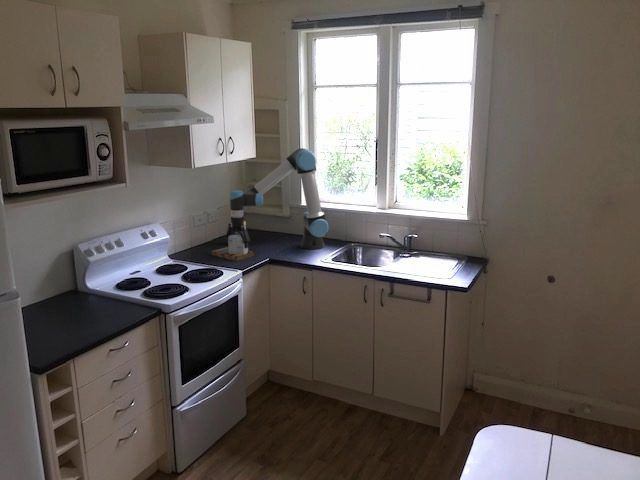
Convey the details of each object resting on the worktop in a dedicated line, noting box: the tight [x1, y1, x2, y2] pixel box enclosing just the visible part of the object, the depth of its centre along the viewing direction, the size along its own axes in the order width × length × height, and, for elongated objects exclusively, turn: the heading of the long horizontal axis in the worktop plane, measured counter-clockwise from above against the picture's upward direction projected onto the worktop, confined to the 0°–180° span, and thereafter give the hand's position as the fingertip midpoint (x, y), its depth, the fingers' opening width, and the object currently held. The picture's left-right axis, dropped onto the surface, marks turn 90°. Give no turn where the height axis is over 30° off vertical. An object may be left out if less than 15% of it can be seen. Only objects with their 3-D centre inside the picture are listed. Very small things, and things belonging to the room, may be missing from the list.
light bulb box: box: [227, 235, 249, 254], centre depth 336 cm, size 11×7×11 cm, turn 84°
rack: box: [210, 245, 256, 262], centre depth 341 cm, size 23×16×2 cm
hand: (238, 251), depth 337 cm, fingers closed on light bulb box, 12 cm apart
